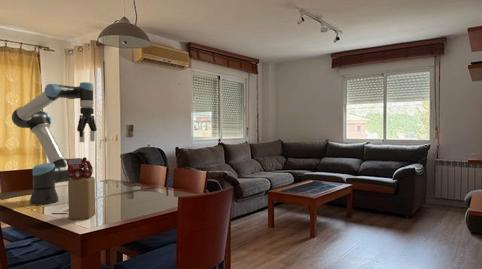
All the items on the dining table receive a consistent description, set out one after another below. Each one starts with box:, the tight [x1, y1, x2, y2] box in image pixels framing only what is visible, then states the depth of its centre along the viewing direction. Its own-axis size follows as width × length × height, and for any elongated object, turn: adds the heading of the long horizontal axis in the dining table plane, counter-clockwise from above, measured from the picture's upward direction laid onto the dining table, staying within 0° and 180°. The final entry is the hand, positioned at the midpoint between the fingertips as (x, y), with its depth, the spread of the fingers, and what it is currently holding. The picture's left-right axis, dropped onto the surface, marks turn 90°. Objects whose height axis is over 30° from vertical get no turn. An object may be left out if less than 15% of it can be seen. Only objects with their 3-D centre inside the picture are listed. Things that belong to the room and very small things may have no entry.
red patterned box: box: [67, 156, 94, 179], centre depth 170 cm, size 7×12×10 cm, turn 137°
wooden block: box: [67, 176, 96, 220], centre depth 171 cm, size 10×10×20 cm
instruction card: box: [53, 205, 69, 213], centre depth 187 cm, size 13×18×1 cm
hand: (87, 141), depth 210 cm, fingers open, 13 cm apart
